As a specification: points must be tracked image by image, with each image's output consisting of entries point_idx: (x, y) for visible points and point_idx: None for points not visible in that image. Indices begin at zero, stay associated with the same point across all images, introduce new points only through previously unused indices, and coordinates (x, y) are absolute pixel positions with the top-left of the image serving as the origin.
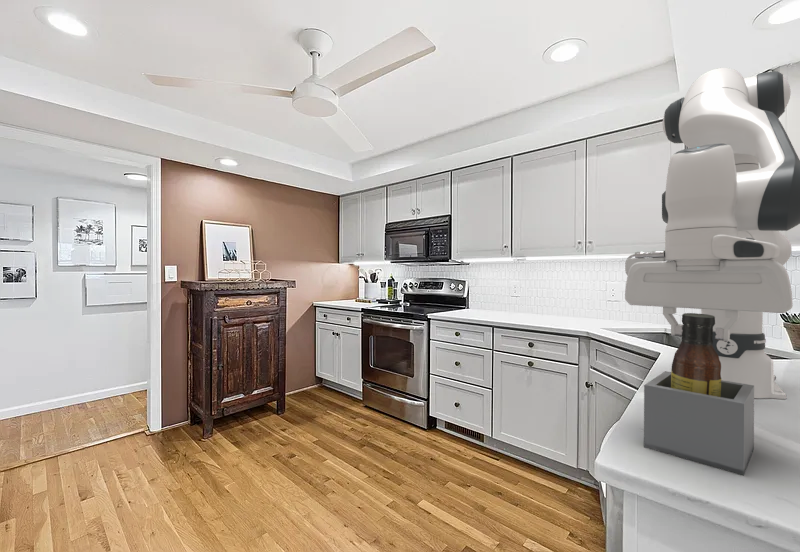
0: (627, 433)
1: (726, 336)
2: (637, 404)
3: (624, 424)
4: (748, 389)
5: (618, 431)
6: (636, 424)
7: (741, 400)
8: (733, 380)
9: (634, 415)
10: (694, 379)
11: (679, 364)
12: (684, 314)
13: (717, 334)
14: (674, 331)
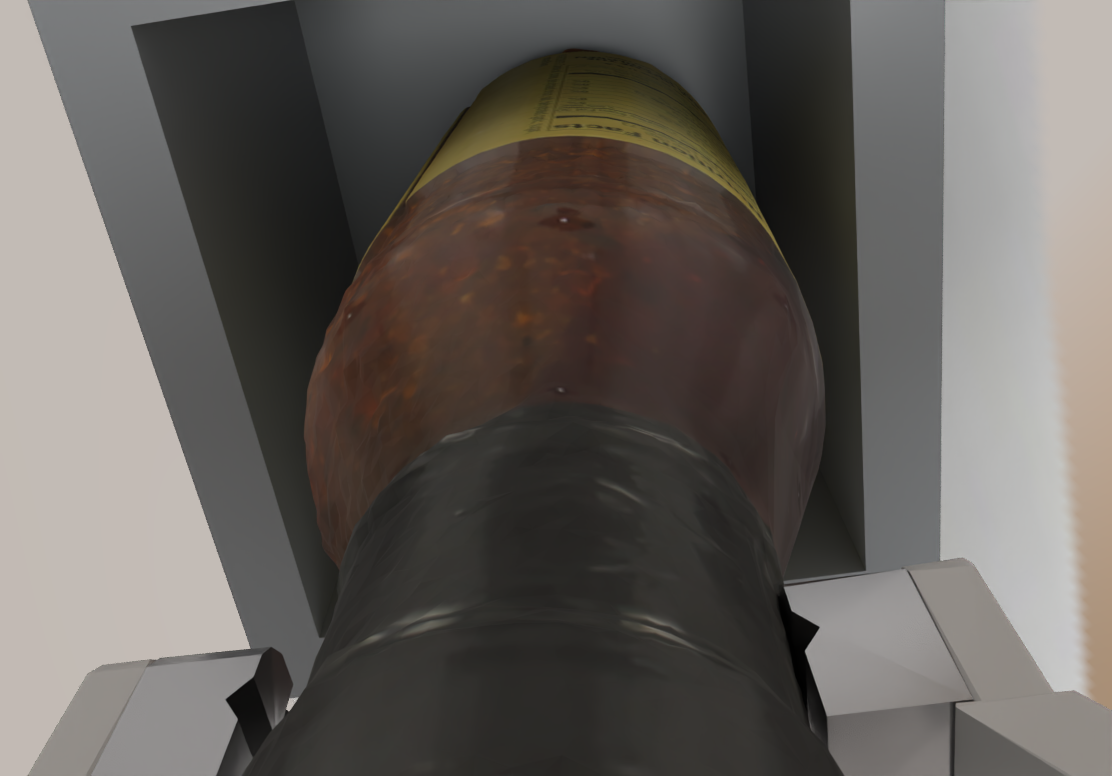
0: (959, 24)
1: (84, 696)
2: (1069, 641)
3: (1029, 188)
4: (232, 532)
5: (1021, 3)
6: (964, 262)
7: (82, 64)
8: None
9: (1025, 422)
10: (508, 149)
11: (687, 200)
12: None
13: (212, 700)
14: (927, 595)
